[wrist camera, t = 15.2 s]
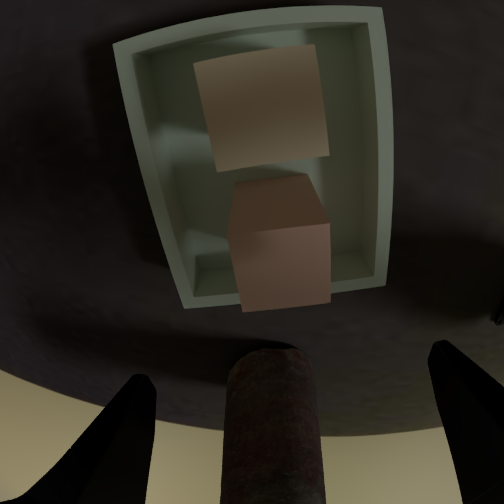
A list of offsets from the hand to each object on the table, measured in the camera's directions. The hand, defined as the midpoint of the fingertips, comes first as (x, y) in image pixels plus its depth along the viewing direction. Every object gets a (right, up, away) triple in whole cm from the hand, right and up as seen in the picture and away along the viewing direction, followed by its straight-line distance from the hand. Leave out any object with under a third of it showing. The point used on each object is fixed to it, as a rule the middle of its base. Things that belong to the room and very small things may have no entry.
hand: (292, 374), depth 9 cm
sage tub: (0, +9, +9) cm, 12 cm away
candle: (0, -7, +19) cm, 20 cm away
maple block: (-1, +11, +6) cm, 13 cm away
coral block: (0, +6, +10) cm, 11 cm away
